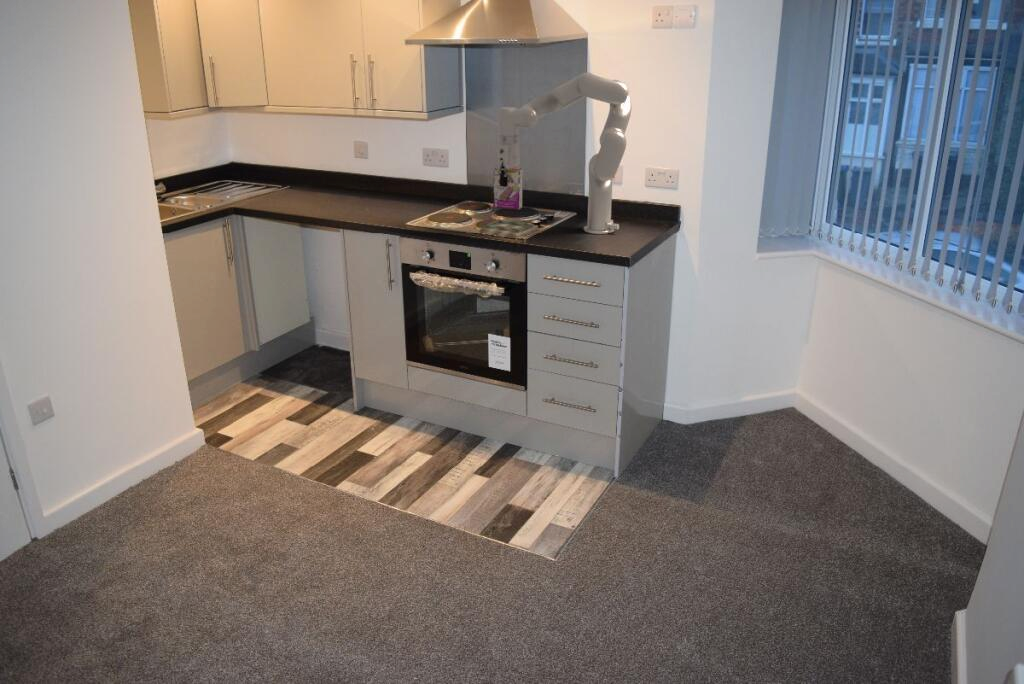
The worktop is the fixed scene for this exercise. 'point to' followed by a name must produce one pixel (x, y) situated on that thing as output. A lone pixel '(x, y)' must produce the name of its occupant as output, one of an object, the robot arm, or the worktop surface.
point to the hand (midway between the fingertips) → (508, 184)
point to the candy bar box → (508, 189)
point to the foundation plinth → (508, 228)
